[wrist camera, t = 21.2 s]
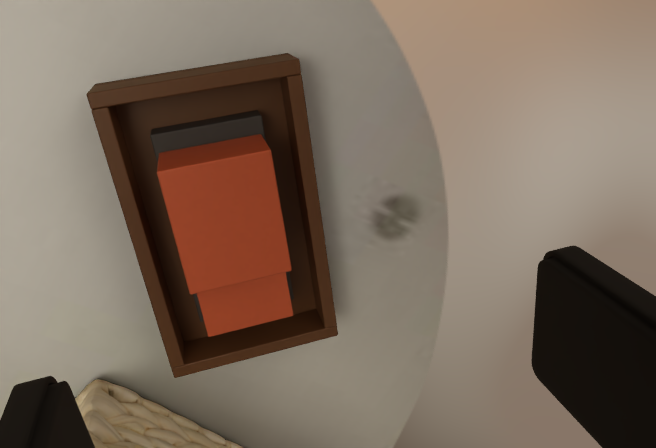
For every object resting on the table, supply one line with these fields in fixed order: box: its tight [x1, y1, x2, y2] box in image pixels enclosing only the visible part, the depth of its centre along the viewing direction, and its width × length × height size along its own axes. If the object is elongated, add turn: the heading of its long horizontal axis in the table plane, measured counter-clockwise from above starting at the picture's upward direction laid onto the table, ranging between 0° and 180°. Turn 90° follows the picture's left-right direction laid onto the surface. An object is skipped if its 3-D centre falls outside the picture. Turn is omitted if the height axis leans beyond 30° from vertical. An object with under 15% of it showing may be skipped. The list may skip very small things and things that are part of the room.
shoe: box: [150, 110, 294, 337], centre depth 30 cm, size 12×6×5 cm, turn 7°
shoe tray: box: [87, 53, 338, 378], centre depth 32 cm, size 18×11×3 cm, turn 7°
